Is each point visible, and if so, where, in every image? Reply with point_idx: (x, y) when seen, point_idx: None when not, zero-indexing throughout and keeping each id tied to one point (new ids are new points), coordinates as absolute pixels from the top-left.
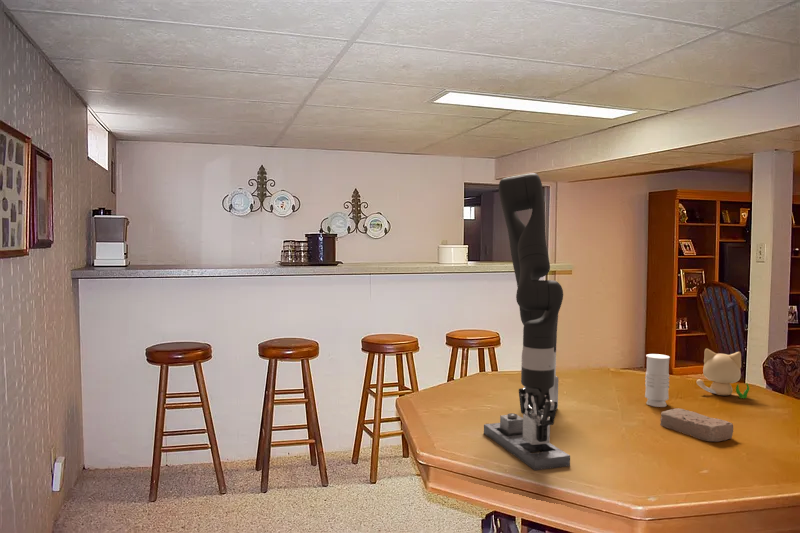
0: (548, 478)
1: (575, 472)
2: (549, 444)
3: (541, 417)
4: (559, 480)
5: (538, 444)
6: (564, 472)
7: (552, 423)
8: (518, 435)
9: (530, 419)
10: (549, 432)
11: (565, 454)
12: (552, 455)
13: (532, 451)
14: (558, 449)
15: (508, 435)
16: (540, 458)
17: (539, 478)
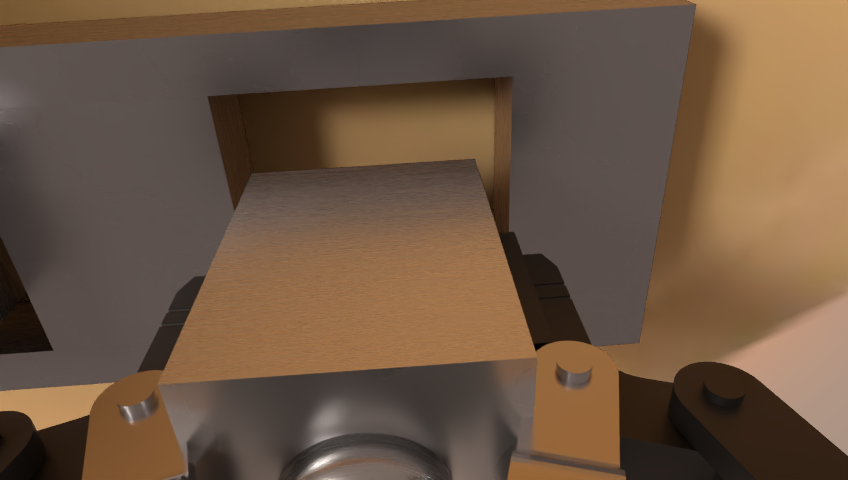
0: (762, 265)
1: (785, 15)
2: (323, 58)
3: (474, 465)
4: (828, 213)
5: (223, 121)
6: (738, 108)
7: (756, 399)
8: (16, 249)
9: None
10: (493, 223)
11: (649, 40)
12: (618, 179)
13: (250, 159)
14: (493, 37)
15: (1, 316)
16: (634, 299)
17: (732, 314)
